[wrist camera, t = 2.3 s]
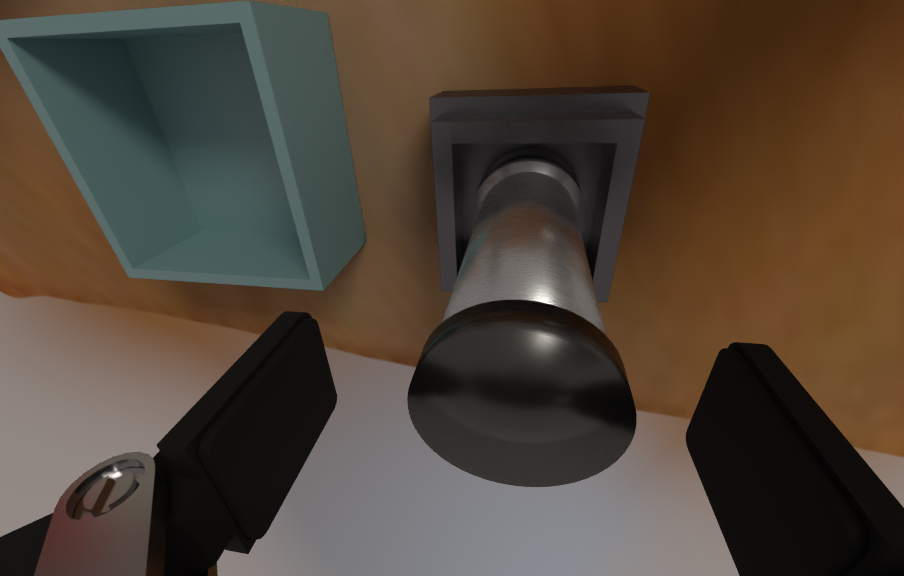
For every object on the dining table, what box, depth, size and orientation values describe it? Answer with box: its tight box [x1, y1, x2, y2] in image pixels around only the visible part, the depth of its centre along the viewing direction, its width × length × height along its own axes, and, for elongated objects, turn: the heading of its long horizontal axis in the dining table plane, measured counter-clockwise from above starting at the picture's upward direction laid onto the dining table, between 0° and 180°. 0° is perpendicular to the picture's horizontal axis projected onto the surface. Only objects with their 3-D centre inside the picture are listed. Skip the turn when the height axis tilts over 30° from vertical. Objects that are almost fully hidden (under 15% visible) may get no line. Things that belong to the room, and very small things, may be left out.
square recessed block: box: [429, 86, 650, 302], centre depth 19 cm, size 9×9×6 cm
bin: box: [0, 1, 366, 291], centre depth 20 cm, size 12×12×6 cm
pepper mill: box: [408, 148, 636, 487], centre depth 13 cm, size 5×5×13 cm
